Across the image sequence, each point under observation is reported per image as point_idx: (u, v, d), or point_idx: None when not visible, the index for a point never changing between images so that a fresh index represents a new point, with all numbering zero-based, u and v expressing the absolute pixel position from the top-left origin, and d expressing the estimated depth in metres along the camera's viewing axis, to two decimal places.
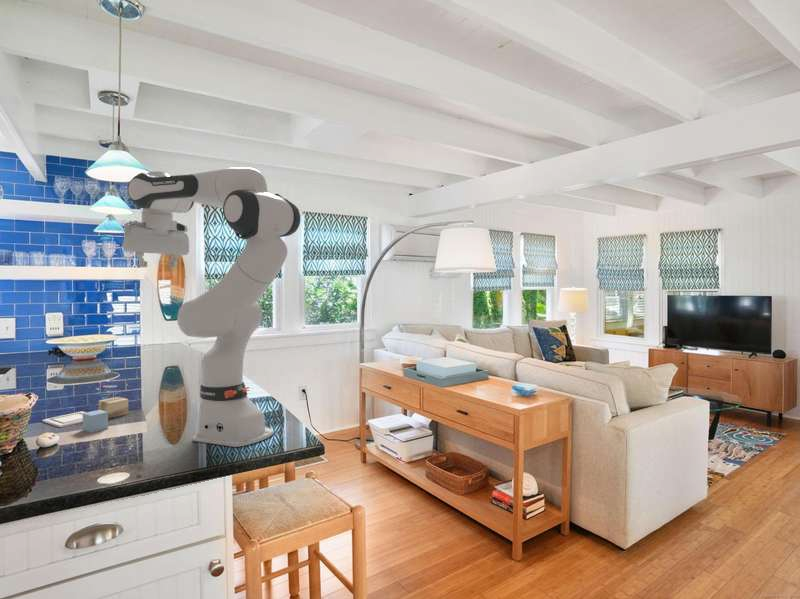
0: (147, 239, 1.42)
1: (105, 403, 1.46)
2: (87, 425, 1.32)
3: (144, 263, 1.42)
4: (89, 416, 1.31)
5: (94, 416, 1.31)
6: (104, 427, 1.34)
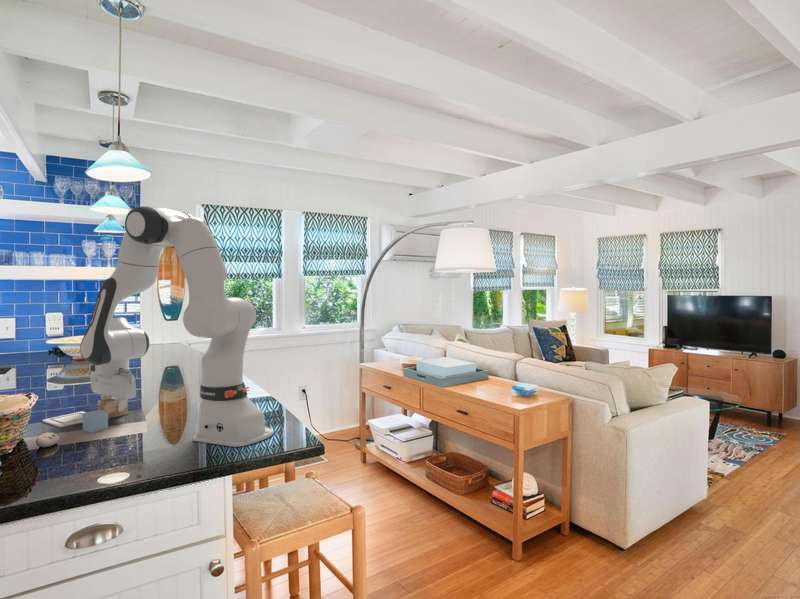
0: None
1: (104, 403, 1.45)
2: (87, 425, 1.32)
3: None
4: (89, 416, 1.31)
5: (94, 416, 1.31)
6: (104, 427, 1.34)
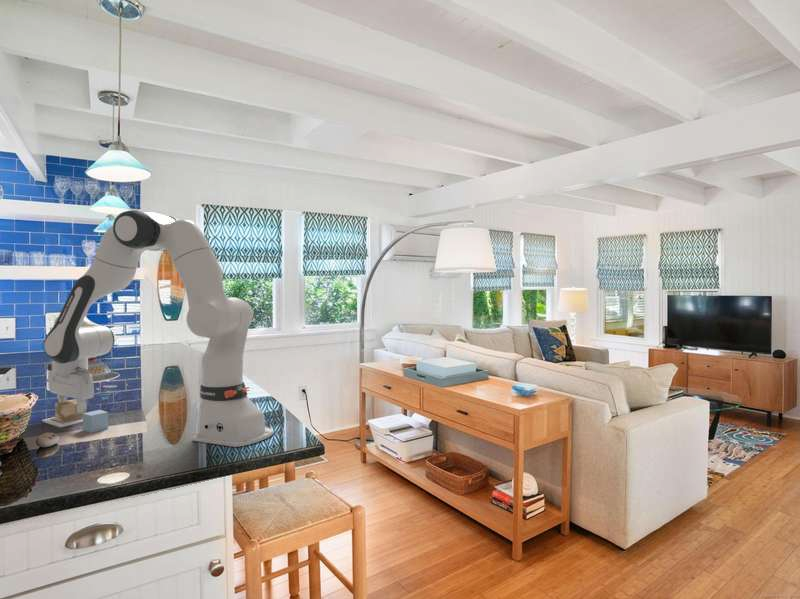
0: None
1: (61, 406, 1.39)
2: (87, 425, 1.32)
3: None
4: (89, 416, 1.31)
5: (94, 416, 1.31)
6: (104, 427, 1.34)
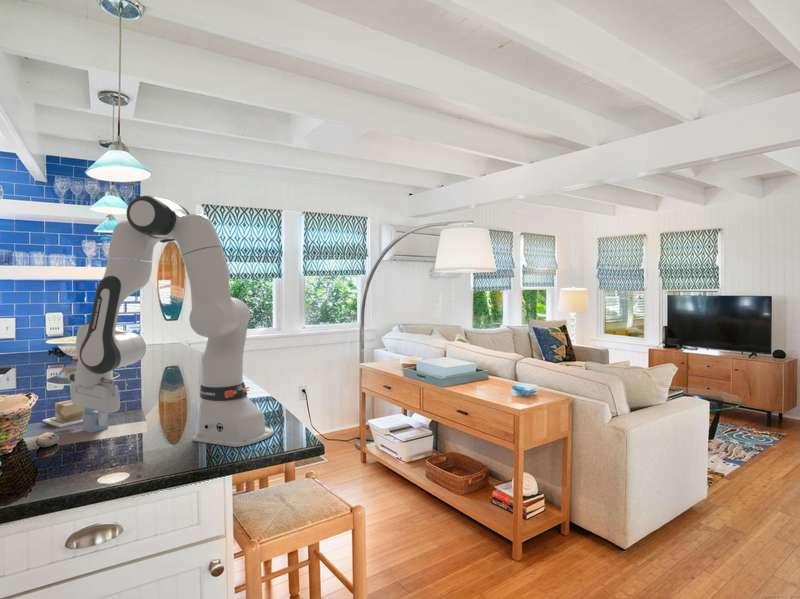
0: None
1: (61, 406, 1.39)
2: (87, 425, 1.32)
3: None
4: (89, 416, 1.31)
5: (94, 416, 1.31)
6: (104, 427, 1.34)
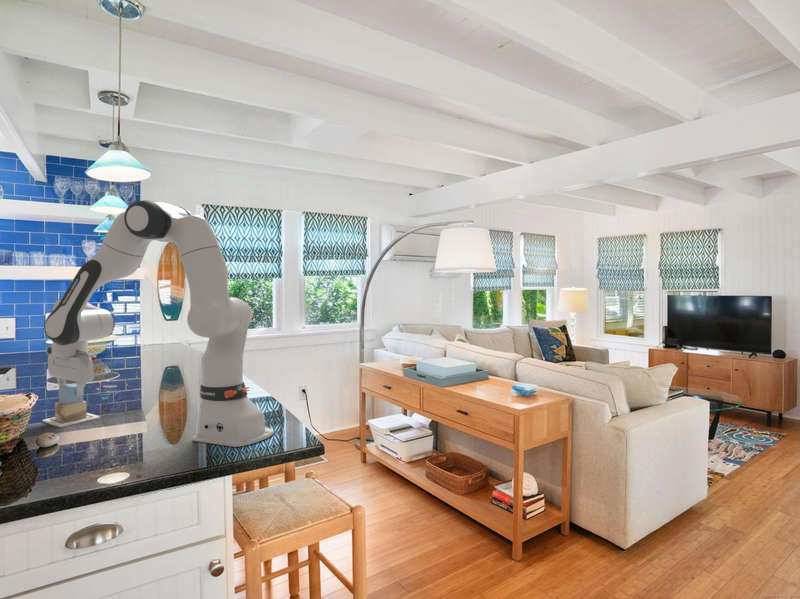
0: None
1: (61, 406, 1.39)
2: (63, 397, 1.40)
3: None
4: (65, 389, 1.40)
5: (70, 389, 1.40)
6: (79, 400, 1.42)
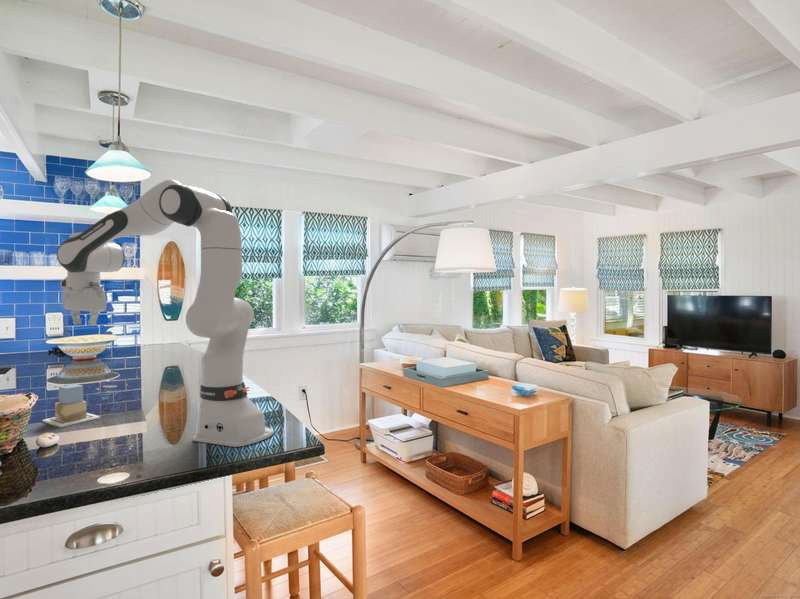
0: None
1: (61, 406, 1.39)
2: (63, 397, 1.40)
3: None
4: (65, 389, 1.40)
5: (70, 389, 1.40)
6: (79, 400, 1.42)
